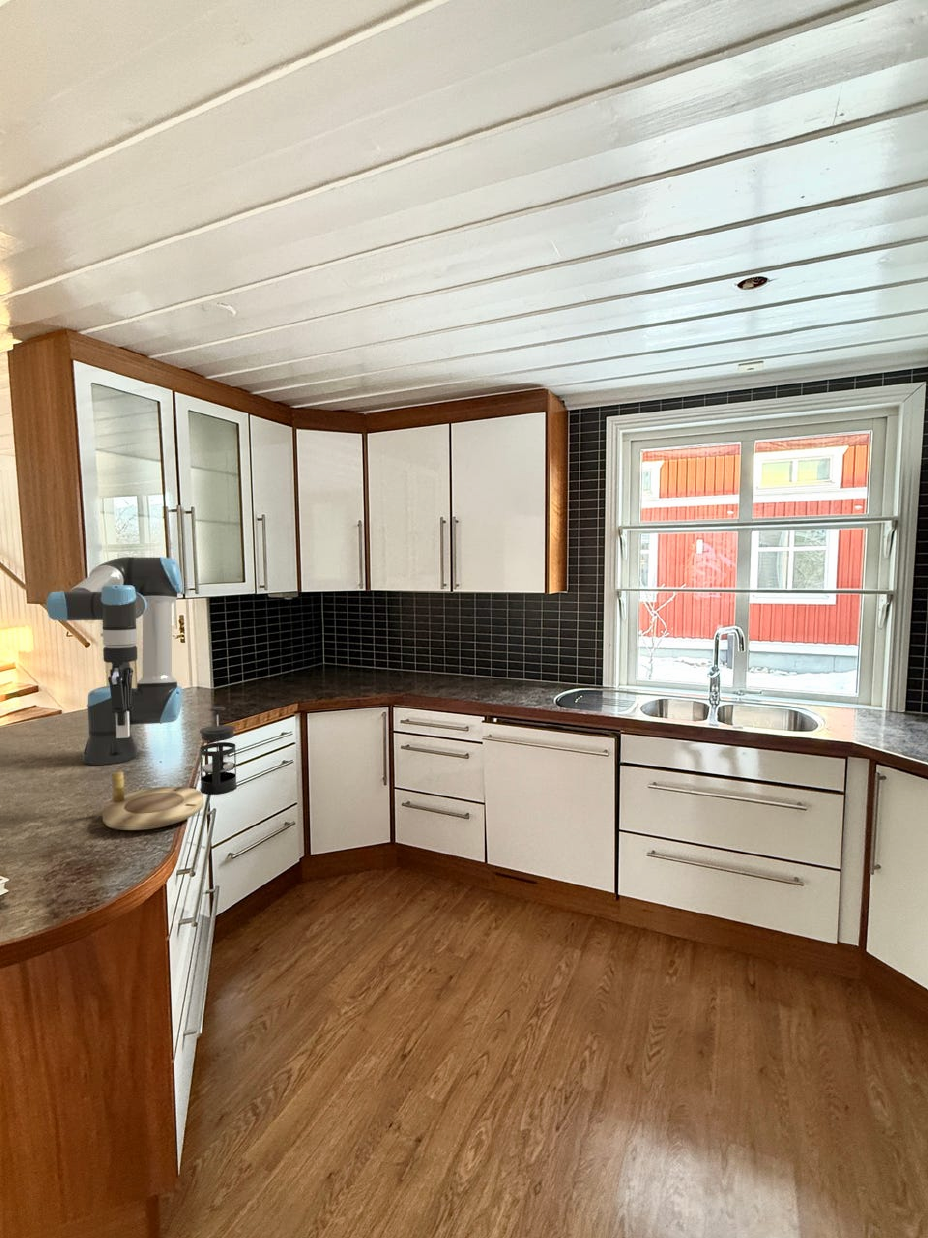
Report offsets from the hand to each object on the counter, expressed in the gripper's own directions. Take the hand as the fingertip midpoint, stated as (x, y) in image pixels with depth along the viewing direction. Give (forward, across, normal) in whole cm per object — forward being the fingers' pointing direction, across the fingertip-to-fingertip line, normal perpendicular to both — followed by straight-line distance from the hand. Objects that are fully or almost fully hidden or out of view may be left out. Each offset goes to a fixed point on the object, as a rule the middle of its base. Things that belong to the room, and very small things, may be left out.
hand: (123, 736), depth 154 cm
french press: (+18, -5, +22) cm, 29 cm away
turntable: (+16, +10, +9) cm, 21 cm away
